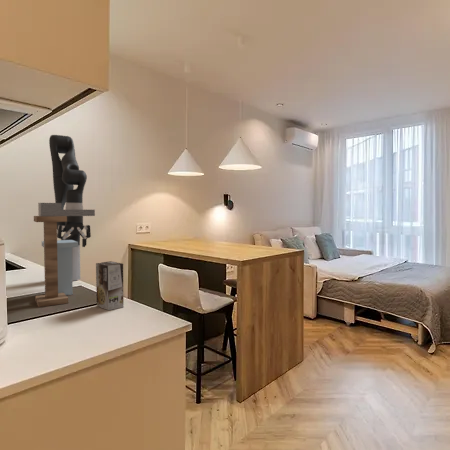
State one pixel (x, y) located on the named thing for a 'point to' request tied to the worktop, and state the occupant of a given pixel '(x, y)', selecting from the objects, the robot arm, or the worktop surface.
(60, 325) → the worktop surface
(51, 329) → the worktop surface
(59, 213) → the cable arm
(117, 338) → the worktop surface
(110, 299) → the coffee box
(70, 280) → the slate stand
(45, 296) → the wooden pedestal stand
